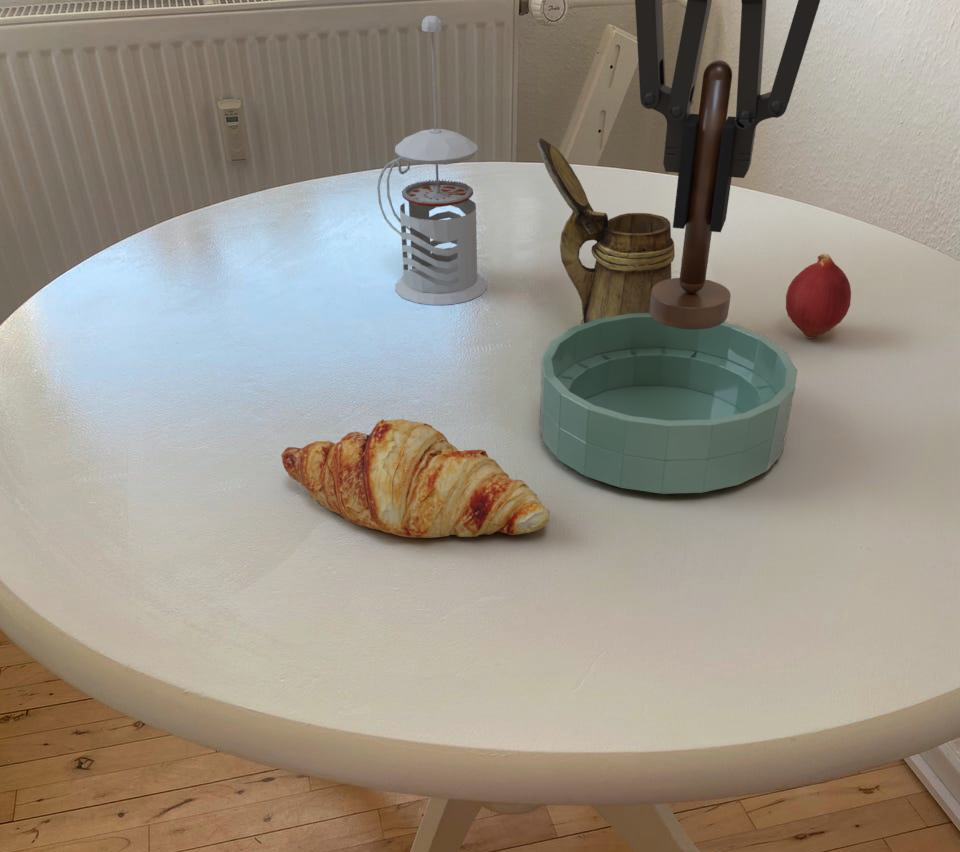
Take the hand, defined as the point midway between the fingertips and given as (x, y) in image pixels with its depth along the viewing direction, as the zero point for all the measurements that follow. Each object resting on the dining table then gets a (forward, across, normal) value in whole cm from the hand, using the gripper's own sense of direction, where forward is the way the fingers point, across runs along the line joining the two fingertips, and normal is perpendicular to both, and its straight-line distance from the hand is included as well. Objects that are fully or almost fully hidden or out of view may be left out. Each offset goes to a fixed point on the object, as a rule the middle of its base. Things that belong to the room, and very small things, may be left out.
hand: (699, 222), depth 72 cm
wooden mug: (+19, -10, +20) cm, 29 cm away
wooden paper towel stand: (+6, 0, 0) cm, 6 cm away
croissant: (+19, -17, -13) cm, 29 cm away
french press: (+19, -30, +29) cm, 46 cm away
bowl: (+19, -1, +3) cm, 19 cm away
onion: (+19, +9, +26) cm, 34 cm away
